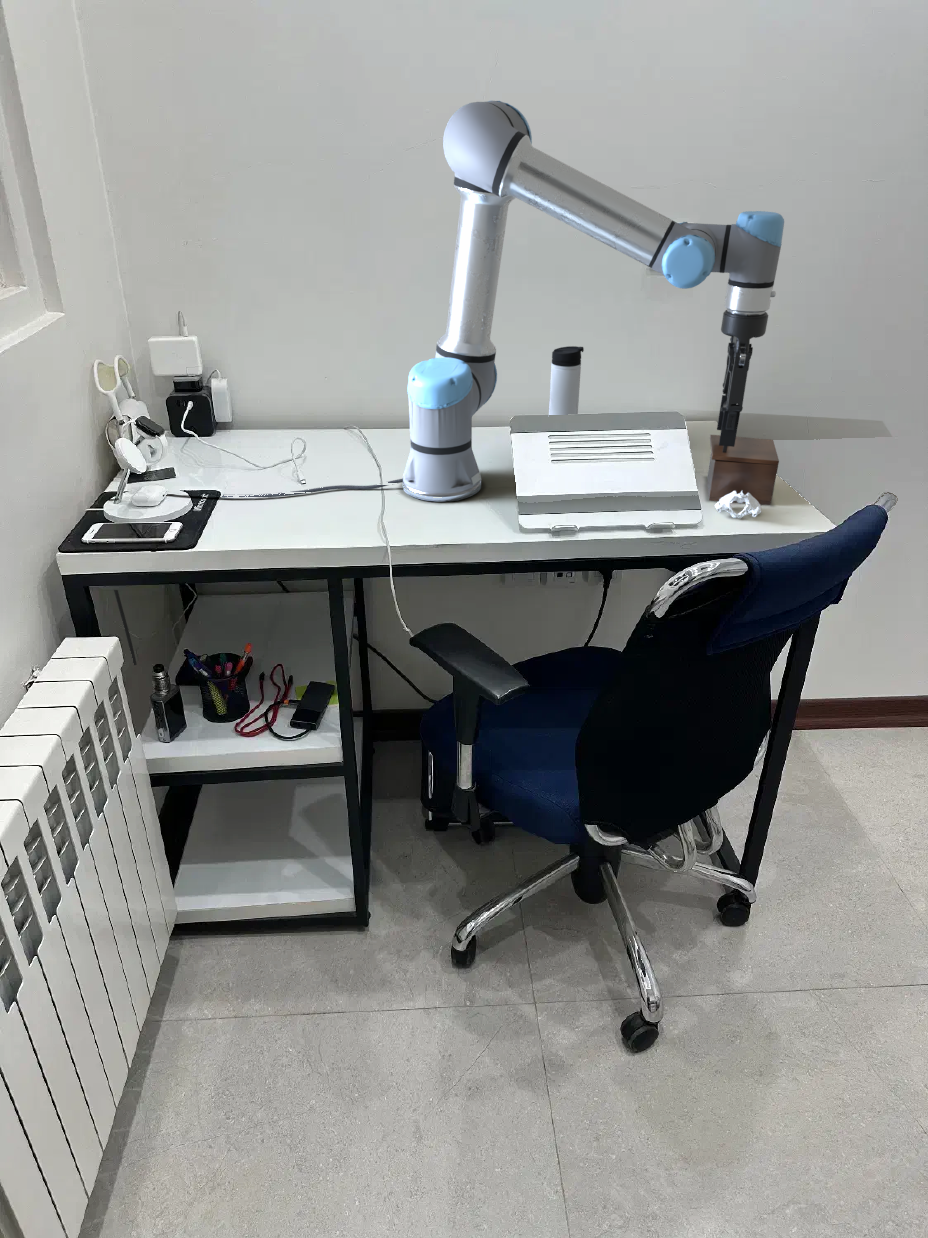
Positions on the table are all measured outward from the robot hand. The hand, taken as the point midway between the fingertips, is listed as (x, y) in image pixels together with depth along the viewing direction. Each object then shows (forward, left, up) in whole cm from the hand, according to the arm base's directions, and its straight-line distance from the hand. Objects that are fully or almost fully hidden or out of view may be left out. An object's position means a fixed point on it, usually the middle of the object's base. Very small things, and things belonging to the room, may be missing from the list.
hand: (725, 437), depth 161 cm
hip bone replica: (+3, -11, -11) cm, 16 cm away
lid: (+3, 0, -3) cm, 4 cm away
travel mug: (-32, +23, -11) cm, 41 cm away
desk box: (+4, 0, -10) cm, 11 cm away
